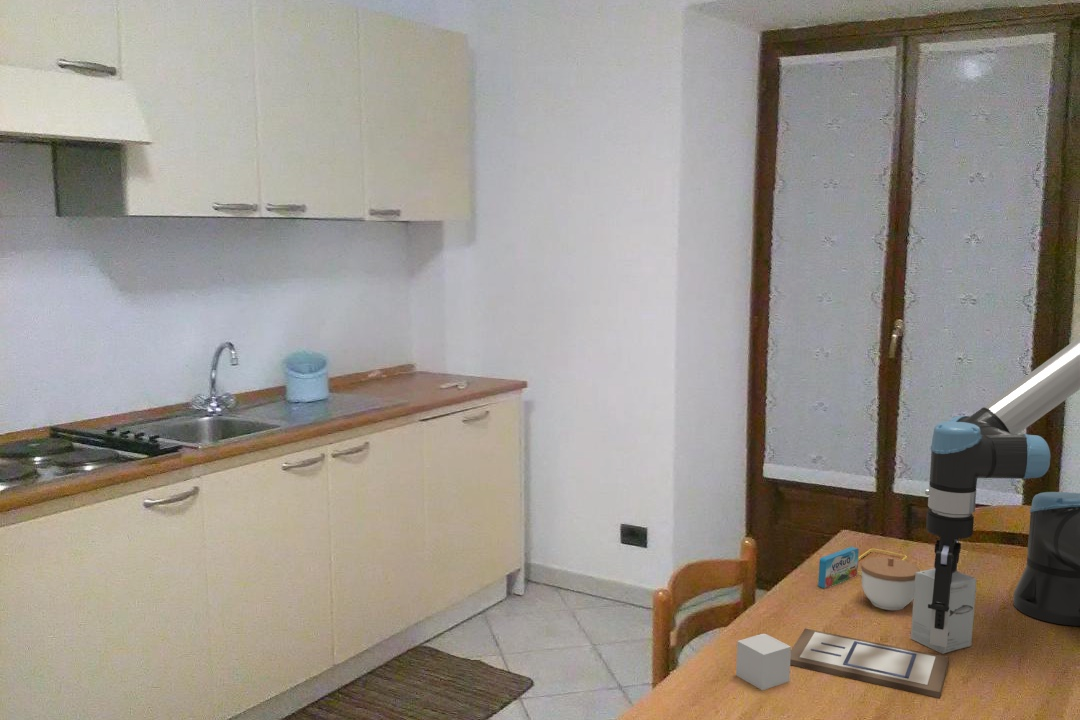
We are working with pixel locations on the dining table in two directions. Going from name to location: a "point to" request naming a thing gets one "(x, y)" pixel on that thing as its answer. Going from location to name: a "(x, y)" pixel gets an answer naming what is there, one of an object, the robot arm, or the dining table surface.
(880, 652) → the brown framed board
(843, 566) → the yogurt
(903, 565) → the lidded jar
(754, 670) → the gray cube
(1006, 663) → the dining table surface
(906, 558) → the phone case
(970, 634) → the supplement box
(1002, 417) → the robot arm
